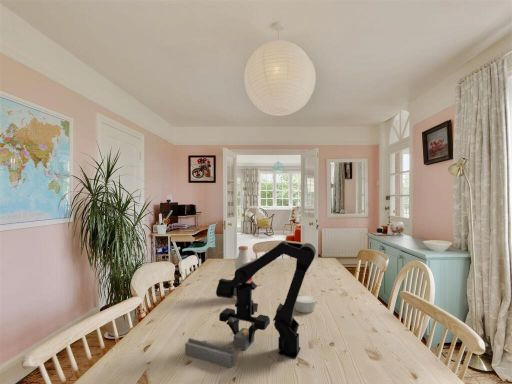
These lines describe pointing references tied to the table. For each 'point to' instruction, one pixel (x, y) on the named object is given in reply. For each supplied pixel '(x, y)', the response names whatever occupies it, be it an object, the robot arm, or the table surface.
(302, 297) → the ramekin
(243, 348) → the block
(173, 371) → the table surface
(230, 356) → the rail
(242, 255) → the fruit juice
